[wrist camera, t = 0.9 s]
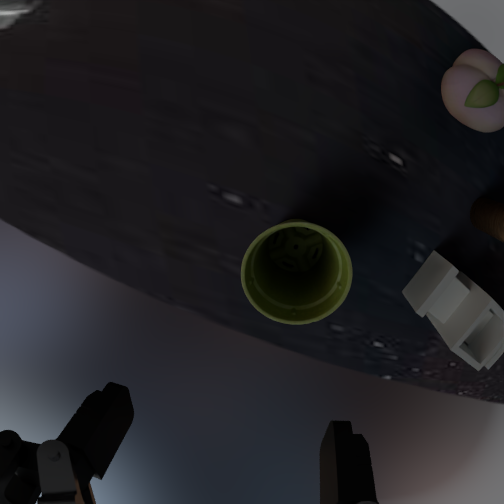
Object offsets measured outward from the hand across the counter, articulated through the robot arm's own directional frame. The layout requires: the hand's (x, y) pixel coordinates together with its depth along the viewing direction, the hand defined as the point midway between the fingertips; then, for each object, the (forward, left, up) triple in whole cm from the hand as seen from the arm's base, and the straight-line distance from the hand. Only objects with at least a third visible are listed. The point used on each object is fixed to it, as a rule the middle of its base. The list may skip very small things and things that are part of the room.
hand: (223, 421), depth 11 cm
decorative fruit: (-27, +9, -25) cm, 38 cm away
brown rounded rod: (-18, +20, -25) cm, 37 cm away
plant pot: (-1, +3, -25) cm, 25 cm away
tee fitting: (-7, +26, -25) cm, 37 cm away
